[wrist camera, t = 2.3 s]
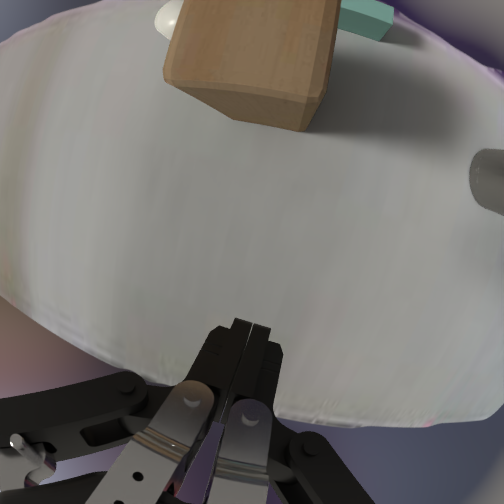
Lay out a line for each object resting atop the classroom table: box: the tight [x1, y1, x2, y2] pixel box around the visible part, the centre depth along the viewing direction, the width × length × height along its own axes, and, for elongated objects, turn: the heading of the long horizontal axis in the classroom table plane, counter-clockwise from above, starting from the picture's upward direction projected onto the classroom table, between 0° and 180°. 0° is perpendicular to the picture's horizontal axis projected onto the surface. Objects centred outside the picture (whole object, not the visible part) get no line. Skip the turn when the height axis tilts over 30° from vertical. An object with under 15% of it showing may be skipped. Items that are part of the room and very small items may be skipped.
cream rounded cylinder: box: [155, 0, 184, 41], centre depth 25 cm, size 6×6×7 cm
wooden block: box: [163, 0, 342, 132], centre depth 21 cm, size 10×10×20 cm
